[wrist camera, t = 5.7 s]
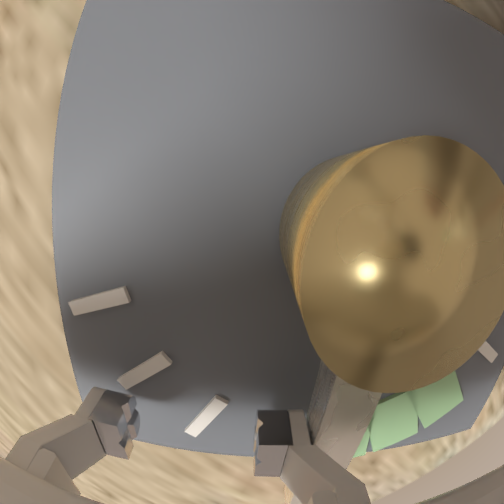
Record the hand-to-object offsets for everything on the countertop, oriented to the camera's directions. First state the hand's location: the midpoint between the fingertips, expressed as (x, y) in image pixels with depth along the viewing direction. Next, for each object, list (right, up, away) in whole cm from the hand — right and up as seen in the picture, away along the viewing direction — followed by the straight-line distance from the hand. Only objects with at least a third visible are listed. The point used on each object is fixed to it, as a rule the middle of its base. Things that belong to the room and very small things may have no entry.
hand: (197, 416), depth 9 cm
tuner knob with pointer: (+4, +2, 0) cm, 5 cm away
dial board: (+5, +6, +1) cm, 8 cm away
